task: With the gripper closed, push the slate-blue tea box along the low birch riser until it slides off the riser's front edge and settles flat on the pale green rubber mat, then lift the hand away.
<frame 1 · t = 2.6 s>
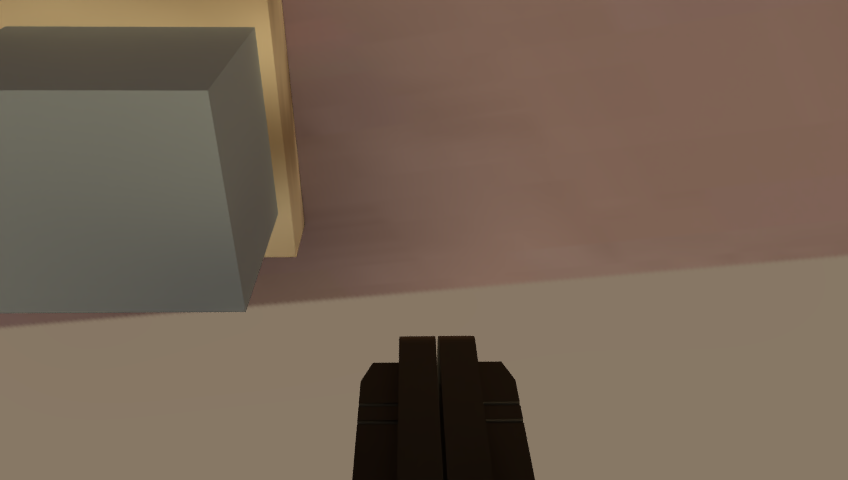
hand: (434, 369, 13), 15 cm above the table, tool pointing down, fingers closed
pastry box: (153, 127, 23), point 2 cm above the table, touching riser
riser: (148, 102, 26), on the table
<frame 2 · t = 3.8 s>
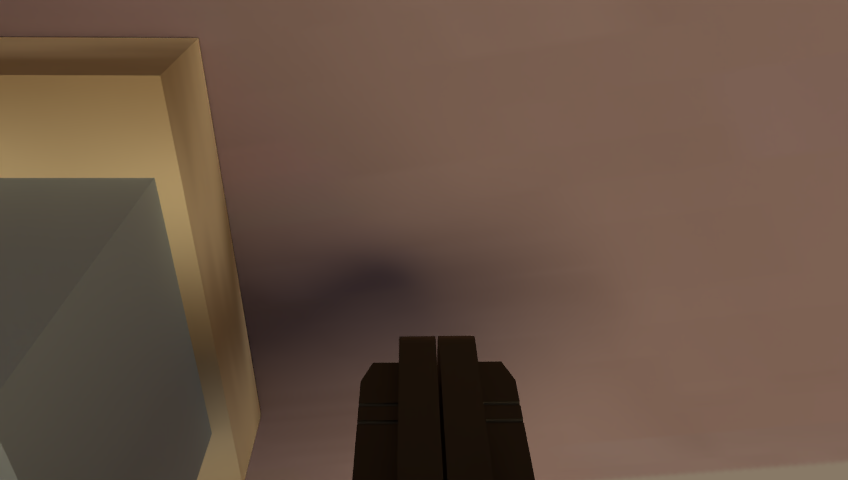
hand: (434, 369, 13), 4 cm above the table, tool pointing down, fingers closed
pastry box: (1, 322, 15), point 2 cm above the table, touching riser
riser: (13, 259, 17), on the table
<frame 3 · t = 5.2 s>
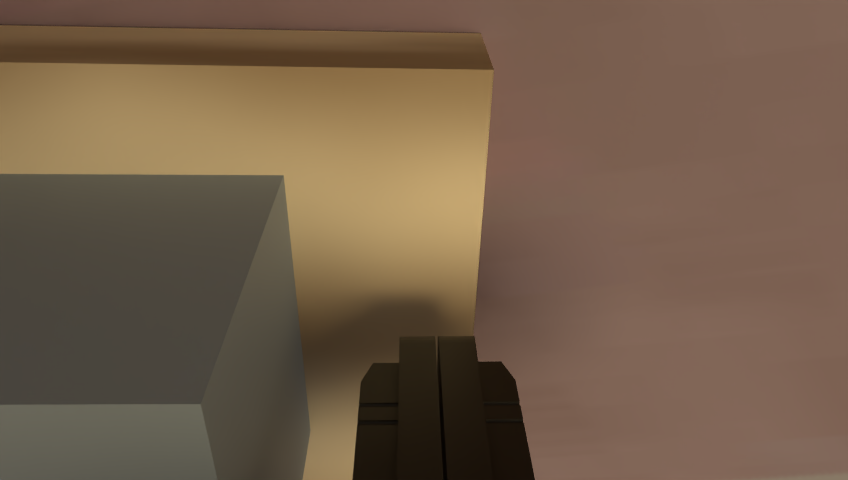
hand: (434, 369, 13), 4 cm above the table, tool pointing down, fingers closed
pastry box: (114, 318, 15), point 2 cm above the table, touching gripper, riser
riser: (246, 252, 17), on the table
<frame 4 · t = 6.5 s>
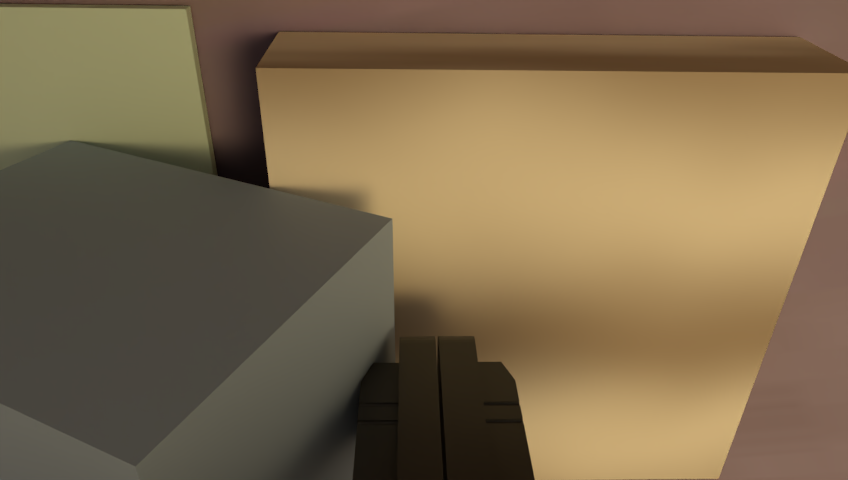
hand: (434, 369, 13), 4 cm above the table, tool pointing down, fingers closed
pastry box: (238, 314, 15), point 2 cm above the table, tilted 26°, touching gripper, hand, mat
riser: (518, 254, 17), on the table
mat: (50, 227, 16), on the table
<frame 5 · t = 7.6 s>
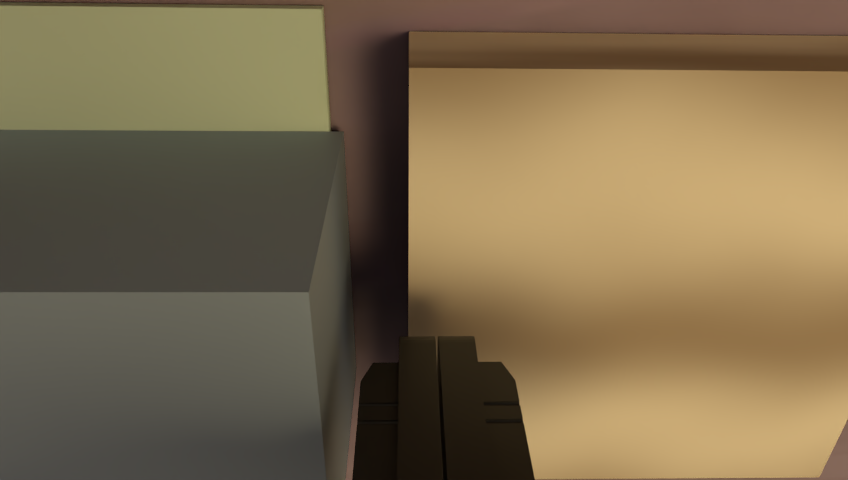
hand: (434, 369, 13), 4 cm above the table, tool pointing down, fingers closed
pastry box: (188, 263, 16), resting on mat
riser: (624, 253, 17), on the table
mat: (162, 226, 16), on the table
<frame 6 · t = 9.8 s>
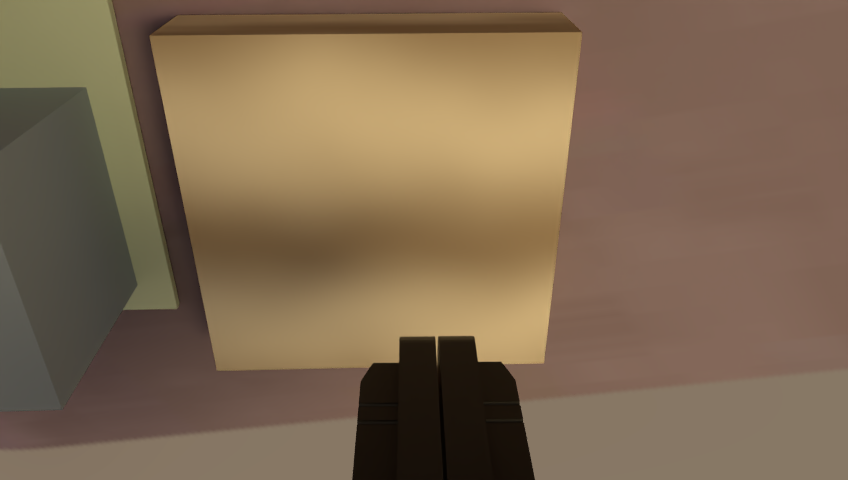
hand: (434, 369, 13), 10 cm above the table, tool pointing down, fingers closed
riser: (377, 187, 22), on the table
mat: (14, 171, 21), on the table
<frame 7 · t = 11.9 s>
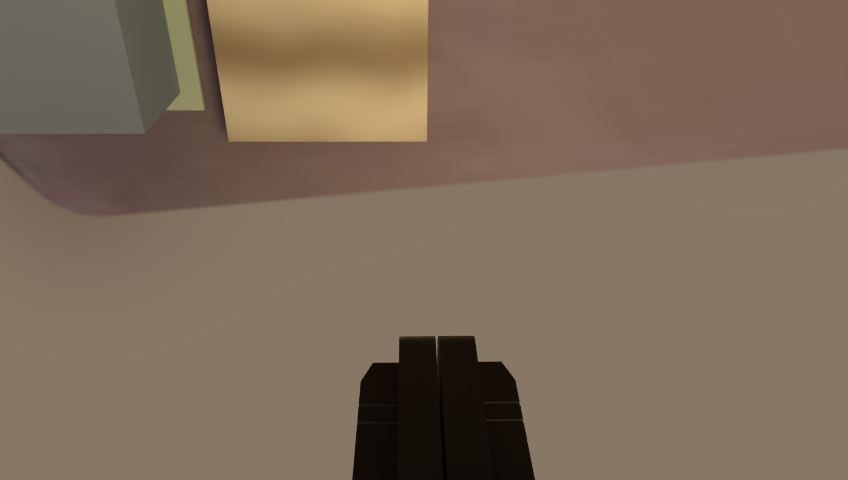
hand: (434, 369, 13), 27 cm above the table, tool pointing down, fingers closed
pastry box: (93, 29, 36), resting on mat
riser: (325, 29, 36), on the table
mat: (109, 14, 36), on the table
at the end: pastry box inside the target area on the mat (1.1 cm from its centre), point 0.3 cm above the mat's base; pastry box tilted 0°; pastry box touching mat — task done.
